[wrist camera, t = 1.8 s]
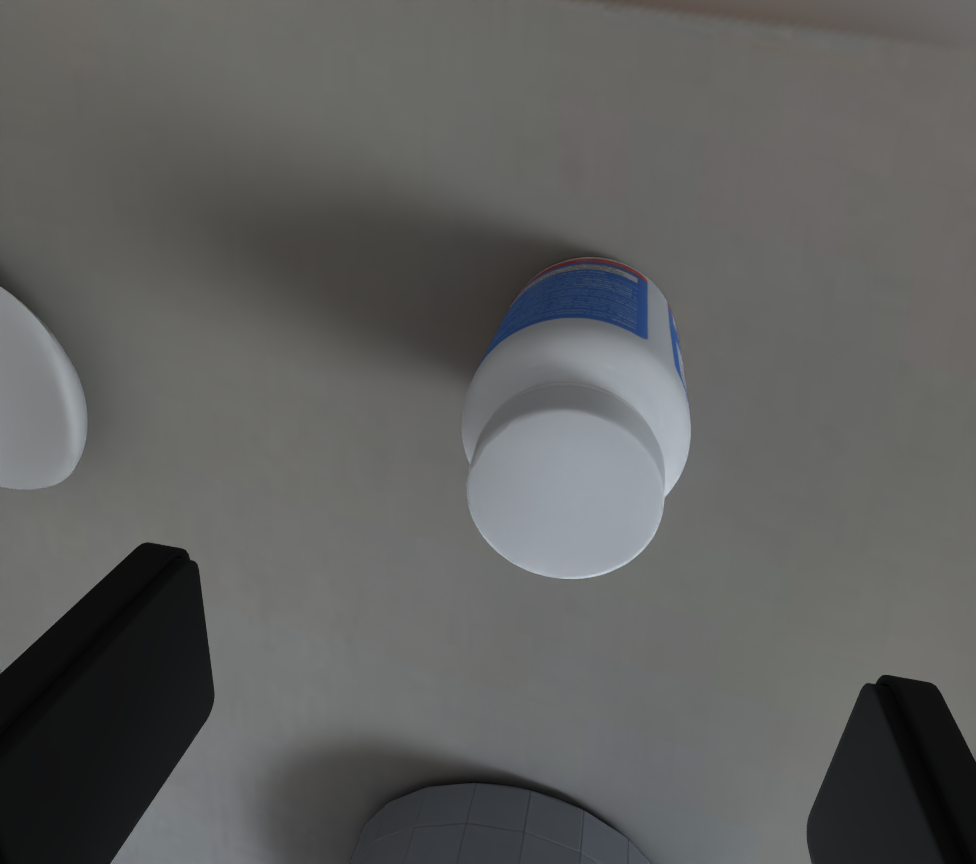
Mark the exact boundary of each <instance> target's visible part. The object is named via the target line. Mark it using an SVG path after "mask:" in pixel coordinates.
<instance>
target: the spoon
mask: <svg viewBox="0 0 976 864" xmlns="http://www.w3.org/2000/svg"><path fill="white" fill-rule="evenodd" d="M87 431H88V416H87V407H86V400H85V396H84V392H83V388H82V385H81V382H80V380H79V377H78V375H77V372H76V370H75V368H74V365H73V364H72V362H71V360H70V359H69V357H68V355H67V354H66V352H65V351H64V349H63V348H62V346H61V345H60V343H59V342H58V340H57V339H56V338H55V336H54V335H53V333H52V332H51V331H50V330H49V328H48V327H47V326H46V325H45V324H44V323H43V321H42V320H41V319H40V318H39V317H38V316H37V315H36V314H35V313H34V312H33V311H32V310H30V309H29V308H28V307H27V306H26V305H25V304H24V303H22V302H21V301H20V300H19V299H17V298H16V297H15V296H13V295H12V294H10V293H9V292H8V291H6V290H5V289H3V288H2V287H0V487H4V488H11V489H22V490H27V489H39V488H45V487H49V486H52V485H55V484H58V483H60V482H61V481H63V480H65V479H66V478H67V477H68V476H69V475H70V474H71V473H72V472H73V470H74V469H75V467H76V465H77V463H78V461H79V460H80V458H81V456H82V453H83V450H84V448H85V442H86V436H87Z"/></svg>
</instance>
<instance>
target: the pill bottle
mask: <svg viewBox="0 0 976 864" xmlns="http://www.w3.org/2000/svg"><path fill="white" fill-rule="evenodd" d="M461 431H462V440H463V445H464V449H465V453H466V456H467V459H468V461H469V464H470V466H469V471H468V475H467V501H468V505H469V509H470V513H471V516H472V518H473V520H474V523H475V524H476V526H477V528H478V530H479V531H480V533H481V534H482V536H483V537H484V538H485V540H486V541H487V542H488V543H489V544H490V545H491V546H492V548H494V549H495V550H496V552H498V553H499V554H501V555H502V556H504V557H505V558H506V559H507V560H509V561H510V562H512V563H514V564H515V565H517V566H519V567H521V568H523V569H525V570H528V571H530V572H533V573H536V574H540V575H544V576H548V577H555V578H563V579H582V578H588V577H594V576H598V575H602V574H605V573H608V572H611V571H613V570H615V569H617V568H619V567H621V566H624V565H625V564H627V563H628V562H630V561H631V560H632V559H634V558H635V557H636V556H637V555H638V554H639V553H640V552H642V551H643V549H644V548H645V547H646V546H647V545H648V543H649V542H650V541H651V539H652V538H653V536H654V534H655V532H656V531H657V529H658V526H659V523H660V521H661V518H662V514H663V509H664V498H665V497H666V496H667V494H668V493H669V492H670V491H671V489H672V488H673V487H674V485H675V484H676V482H677V480H678V479H679V477H680V475H681V473H682V471H683V468H684V466H685V463H686V460H687V457H688V452H689V446H690V438H691V424H690V412H689V404H688V397H687V390H686V384H685V377H684V371H683V363H682V358H681V351H680V345H679V338H678V333H677V328H676V324H675V320H674V317H673V314H672V312H671V309H670V307H669V305H668V303H667V301H666V299H665V297H664V296H663V294H662V293H661V291H660V290H659V289H658V287H657V286H656V285H655V284H654V283H653V282H652V281H651V280H650V279H649V278H648V277H646V276H645V275H644V274H642V273H641V272H640V271H638V270H636V269H635V268H633V267H631V266H629V265H627V264H625V263H622V262H619V261H616V260H612V259H608V258H601V257H581V258H574V259H569V260H566V261H562V262H560V263H557V264H555V265H552V266H550V267H548V268H546V269H545V270H543V271H541V272H540V273H538V274H537V275H536V276H534V277H533V278H532V279H531V280H530V281H529V282H528V283H527V284H526V285H525V286H524V287H523V288H522V290H521V291H520V292H519V293H518V295H517V296H516V297H515V299H514V300H513V302H512V304H511V306H510V308H509V310H508V312H507V314H506V316H505V317H504V319H503V321H502V323H501V325H500V327H499V329H498V331H497V333H496V335H495V336H494V338H493V340H492V342H491V344H490V346H489V348H488V350H487V352H486V354H485V356H484V358H483V359H482V361H481V363H480V365H479V367H478V369H477V371H476V373H475V375H474V377H473V379H472V381H471V384H470V386H469V388H468V391H467V394H466V397H465V401H464V405H463V409H462V417H461Z"/></svg>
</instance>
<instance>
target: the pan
mask: <svg viewBox="0 0 976 864" xmlns="http://www.w3.org/2000/svg"><path fill="white" fill-rule="evenodd" d="M350 864H651V863H650V862H649V861H648V860H647V859H646V857H645V856H644V855H643V854H642V853H641V852H640V851H639V850H638V849H637V847H636V846H635V845H634V844H633V843H632V842H631V841H630V840H629V839H628V838H627V837H625V836H624V835H622V834H620V833H619V832H617V831H616V830H614V829H613V828H611V827H610V826H608V825H606V824H605V823H603V822H602V821H600V820H599V819H597V818H596V817H594V816H592V815H591V814H589V813H588V812H586V811H583V810H582V809H580V808H577V807H575V806H573V805H571V804H568V803H566V802H564V801H561V800H559V799H556V798H553V797H550V796H548V795H545V794H542V793H539V792H535V791H530V790H526V789H522V788H518V787H512V786H505V785H498V784H483V783H466V784H454V785H444V786H432V787H427V788H426V787H425V788H423V789H420V790H418V791H415V792H413V793H410V794H408V795H405V796H403V797H400V798H398V799H395V800H393V801H390V802H389V803H387V804H386V805H385V806H384V807H383V808H382V809H381V810H380V811H379V812H378V813H377V814H376V815H375V816H374V817H373V818H372V819H371V820H370V821H369V822H368V823H366V824H365V825H364V827H363V829H362V832H361V834H360V837H359V840H358V842H357V845H356V848H355V850H354V853H353V856H352V858H351V861H350Z"/></svg>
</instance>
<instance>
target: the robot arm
mask: <svg viewBox="0 0 976 864" xmlns="http://www.w3.org/2000/svg"><path fill="white" fill-rule="evenodd" d="M213 703H214V685H213V677H212V669H211V661H210V653H209V646H208V638H207V630H206V622H205V614H204V607H203V599H202V591H201V583H200V575H199V568H198V565H197V563H196V562H195V561H192V560H190V558H189V554H188V553H187V551H186V550H184V549H182V548H177V547H171V546H165V545H160V544H154V543H149V542H147V543H142V544H141V545H140V546H138V547H137V548H136V549H135V550H134V551H132V552H131V553H130V554H129V555H128V556H127V557H126V558H125V559H124V560H123V561H122V562H121V563H120V564H118V565H117V566H116V567H115V568H114V569H113V570H112V571H111V572H110V573H109V574H108V575H107V576H106V577H104V578H103V579H102V580H101V581H100V582H99V583H98V584H97V585H96V586H95V587H94V588H93V589H92V590H90V591H89V592H88V593H87V594H86V595H85V596H84V597H83V598H82V599H81V600H80V601H79V602H78V603H76V604H75V605H74V606H73V607H72V608H71V609H70V610H69V611H68V612H67V613H66V614H65V615H64V616H62V617H61V618H60V619H59V620H58V621H57V622H56V623H55V624H54V625H53V626H52V627H51V628H50V629H48V630H47V631H46V632H45V633H44V634H43V635H42V636H41V637H40V638H39V639H38V640H37V641H36V642H34V643H33V644H32V645H31V646H30V647H29V648H28V649H27V650H26V651H25V652H24V653H23V654H22V655H20V656H19V657H18V658H17V659H16V660H15V661H14V662H13V663H12V664H11V665H10V666H9V667H8V668H6V669H5V670H4V671H3V672H2V673H1V674H0V864H110V863H111V861H112V860H113V859H114V857H115V856H116V854H117V853H118V851H119V850H120V848H121V847H122V845H123V844H124V842H125V841H126V839H127V838H128V836H129V835H130V833H131V832H132V830H133V829H134V827H135V826H136V824H137V823H138V821H139V820H140V818H141V817H142V815H143V814H144V812H145V811H146V809H147V808H148V807H149V805H150V804H151V802H152V801H153V799H154V798H155V796H156V795H157V793H158V792H159V790H160V789H161V787H162V786H163V784H164V783H165V781H166V780H167V778H168V777H169V775H170V774H171V772H172V771H173V769H174V768H175V766H176V765H177V763H178V762H179V760H180V759H181V757H182V756H183V755H184V753H185V752H186V750H187V749H188V747H189V746H190V744H191V743H192V741H193V740H194V738H195V737H196V735H197V734H198V732H199V731H200V729H201V728H202V726H203V725H204V723H205V722H206V720H207V718H208V717H209V715H210V712H211V710H212V707H213ZM807 844H808V849H809V854H810V858H811V862H812V864H976V762H975V760H974V758H973V756H972V754H971V752H970V750H969V748H968V746H967V744H966V742H965V740H964V738H963V736H962V734H961V732H960V730H959V728H958V726H957V724H956V722H955V720H954V718H953V716H952V714H951V712H950V710H949V708H948V706H947V704H946V702H945V700H944V698H943V696H942V694H941V693H940V691H939V690H938V688H937V687H936V686H935V685H934V684H932V683H929V682H924V681H918V680H913V679H907V678H901V677H896V676H890V675H883V676H881V677H880V678H879V679H878V681H877V682H876V684H870V683H866V684H865V685H864V686H863V687H862V689H861V691H860V693H859V696H858V698H857V701H856V703H855V706H854V708H853V710H852V713H851V715H850V718H849V720H848V722H847V725H846V727H845V730H844V732H843V734H842V737H841V739H840V742H839V744H838V747H837V749H836V751H835V754H834V756H833V759H832V761H831V763H830V766H829V768H828V771H827V773H826V775H825V778H824V780H823V783H822V785H821V788H820V790H819V792H818V795H817V797H816V800H815V802H814V804H813V807H812V809H811V812H810V814H809V817H808V822H807Z"/></svg>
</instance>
